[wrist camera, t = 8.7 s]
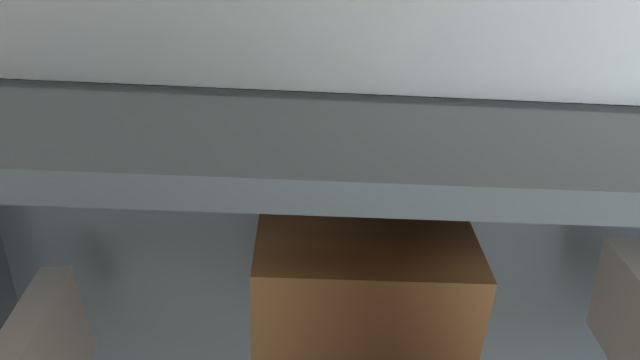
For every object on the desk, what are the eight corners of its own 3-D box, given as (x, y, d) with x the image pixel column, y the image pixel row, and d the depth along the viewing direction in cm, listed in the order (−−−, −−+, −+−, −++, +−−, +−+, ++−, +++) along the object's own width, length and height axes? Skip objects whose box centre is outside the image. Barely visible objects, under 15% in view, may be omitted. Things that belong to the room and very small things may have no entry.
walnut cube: (265, 307, 19) (251, 445, 14) (266, 164, 16) (250, 277, 12) (424, 311, 19) (458, 449, 14) (447, 170, 17) (497, 284, 12)
